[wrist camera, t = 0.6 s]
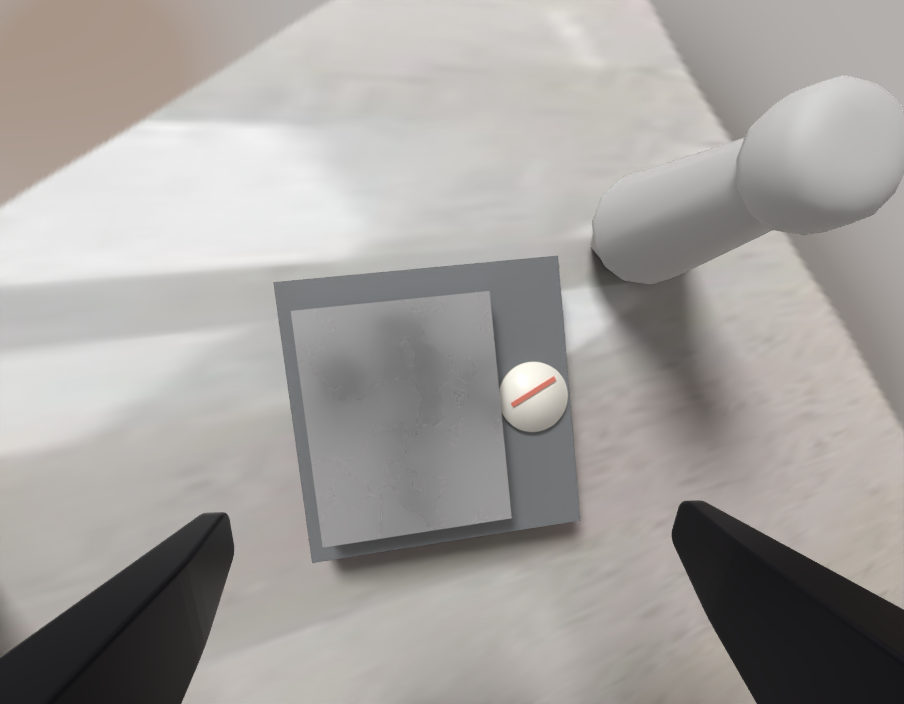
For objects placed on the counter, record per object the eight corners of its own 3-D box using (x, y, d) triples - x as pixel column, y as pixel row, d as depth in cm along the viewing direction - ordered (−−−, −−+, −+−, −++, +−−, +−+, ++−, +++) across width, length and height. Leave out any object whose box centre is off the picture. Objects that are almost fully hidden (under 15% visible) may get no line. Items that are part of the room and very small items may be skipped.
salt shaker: (690, 224, 25) (995, 121, 12) (636, 307, 25) (883, 290, 12) (612, 164, 24) (848, -15, 11) (556, 249, 24) (729, 166, 11)
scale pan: (507, 511, 21) (511, 518, 21) (325, 539, 21) (322, 547, 20) (486, 292, 21) (489, 291, 20) (295, 311, 20) (290, 310, 19)
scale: (563, 501, 25) (583, 524, 22) (321, 538, 24) (310, 567, 21) (542, 262, 24) (560, 254, 21) (288, 286, 23) (271, 281, 20)
